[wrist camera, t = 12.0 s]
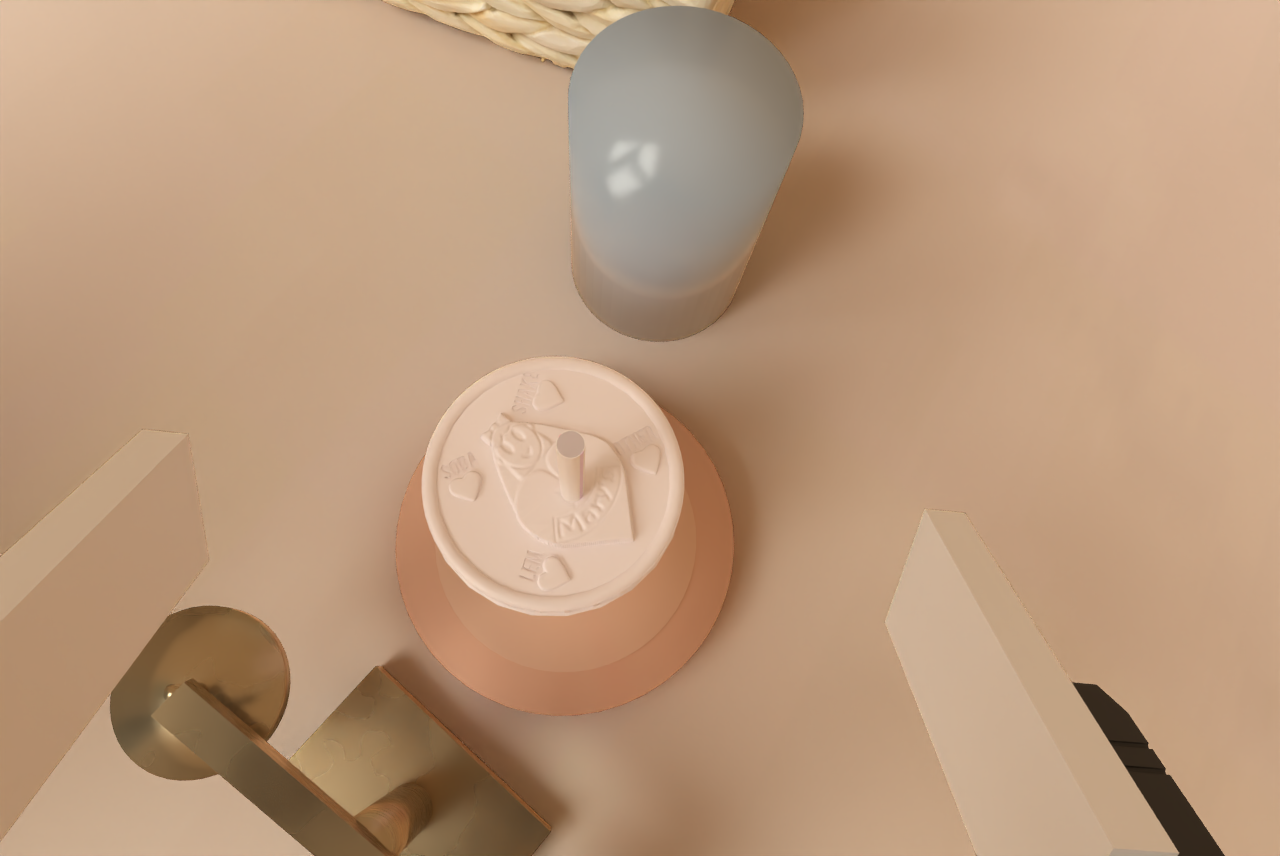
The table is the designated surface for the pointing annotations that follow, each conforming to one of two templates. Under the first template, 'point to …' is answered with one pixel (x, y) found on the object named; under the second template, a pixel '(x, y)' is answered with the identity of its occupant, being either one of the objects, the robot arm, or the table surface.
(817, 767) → the table surface
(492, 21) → the storage basket
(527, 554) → the smoothie
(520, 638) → the dish
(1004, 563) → the table surface
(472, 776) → the balance
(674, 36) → the grey domed cylinder
